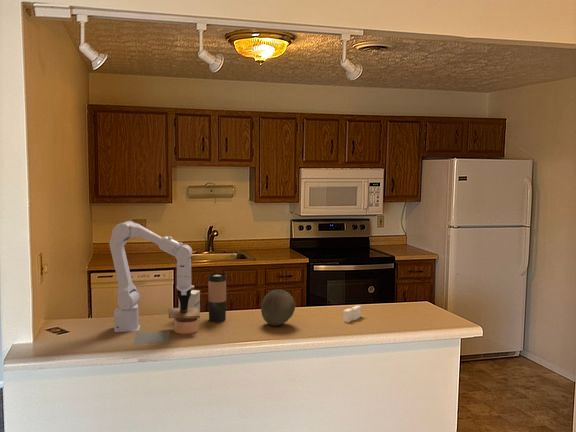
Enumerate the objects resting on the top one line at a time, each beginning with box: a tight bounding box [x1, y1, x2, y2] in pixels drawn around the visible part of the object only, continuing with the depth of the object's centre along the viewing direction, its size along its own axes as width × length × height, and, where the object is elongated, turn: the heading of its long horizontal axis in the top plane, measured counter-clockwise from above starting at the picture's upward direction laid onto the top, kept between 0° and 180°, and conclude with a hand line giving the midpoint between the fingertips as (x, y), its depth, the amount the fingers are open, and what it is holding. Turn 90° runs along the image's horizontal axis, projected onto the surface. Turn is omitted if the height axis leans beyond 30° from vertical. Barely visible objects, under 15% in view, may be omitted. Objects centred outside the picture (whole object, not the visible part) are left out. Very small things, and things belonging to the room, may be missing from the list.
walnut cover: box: [167, 305, 201, 319], centre depth 217 cm, size 12×12×4 cm
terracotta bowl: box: [173, 318, 200, 335], centre depth 219 cm, size 10×10×5 cm
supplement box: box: [177, 289, 201, 316], centre depth 233 cm, size 7×7×13 cm
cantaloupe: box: [260, 289, 296, 327], centre depth 228 cm, size 14×14×15 cm
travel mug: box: [208, 272, 227, 323], centre depth 234 cm, size 8×8×20 cm
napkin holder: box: [342, 305, 362, 323], centre depth 238 cm, size 15×11×6 cm
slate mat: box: [132, 331, 171, 345], centre depth 209 cm, size 13×13×1 cm
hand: (184, 308), depth 217 cm, fingers closed on walnut cover, 3 cm apart
